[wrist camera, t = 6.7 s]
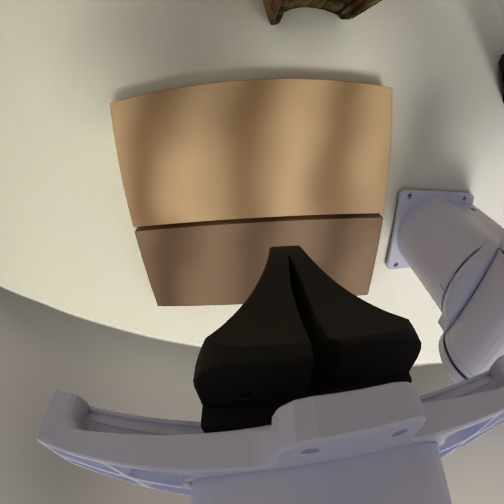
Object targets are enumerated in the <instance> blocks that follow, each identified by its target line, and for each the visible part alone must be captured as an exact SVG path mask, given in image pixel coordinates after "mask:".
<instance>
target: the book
mask: <svg viewBox="0 0 504 504" xmlns="http://www.w3.org/2000/svg"><path fill="white" fill-rule="evenodd" d="M380 1H382V0H263V3H264V6H265V9H266V12H267V15H268V18H269V21H270V24H271V25H275V24H278V23H280V20H281V18H282V16H283V14H284V12H285V11H288V10H290V9H294V8H299V7H312V8H318V9H323V10H326V11H329V12H332V13H335V14H337V15H338V16H339V18H340V19H351V18H354V17H356V16H357V15H359V14H361V13H362V12H364V11H365V10H367V9H369V8H370V7H372V6H373V5H375V4H377V3H378V2H380Z"/></svg>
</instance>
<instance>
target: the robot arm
mask: <svg viewBox="0 0 504 504" xmlns="http://www.w3.org/2000/svg"><path fill="white" fill-rule="evenodd" d="M408 194H410V196H409V197H408ZM463 197H464V199H463ZM473 200H474V196H473V194H471V193H463V192H449V191H432V190H409V189H403V190H401V191H400V192H399V197H398V203H397V210H396V216H395V222H394V227H393V233H392V238H391V243H390V248H389V252H388V257H387V261H386V266H387V268H388V269H397V268H407V267H411V269H412V270H413V271H414V273H415V274H416V275H417V277H418V278H419V280H420V281H421V282H422V284H423V285H424V287H425V288H426V290H427V291H428V292H429V294H430V295H431V297H432V298H433V300H434V301H435V303H436V304H437V306H438V307H439V309H440V310H441V312H442V315H441V317H440V319H439V320H438V323H439V324H440V326H441V328H442V329H443V331H444V333H443V334H442V336H441V337H440V340H439V353H440V357H441V360H442V363H443V366H444V368H445V370H446V371H447V373H448V374H449V376H450V377H451V378H452V379H453V380H454V381H455V382H456V384H454V385H451V386H449V387H446V388H443V389H440V390H437V391H434V392H431V393H428V394H425V395H422V396H419V395H418V392H417V389H416V387H415V386H414V385H412V384H411V381H412V379H411V377H410V374H409V371H410V369H411V367H412V366H413V364H414V362H415V361H416V359H417V357H418V355H419V353H420V350H421V342H420V340H419V338H418V335H417V333H416V331H415V329H414V327H413V326H412V324H411V323H410V321H409V319H406V318H403V317H400V316H397V315H394V314H392V313H389V312H386V311H384V310H382V309H380V308H377V307H375V306H373V305H371V304H369V303H367V302H365V301H364V300H362V299H360V298H359V297H357V296H355V295H354V294H352V293H350V292H349V291H347V290H346V289H345V288H343V287H342V286H340V285H339V284H338V283H337V282H335V281H334V280H333V279H332V278H331V277H329V276H328V275H327V274H326V273H325V272H324V271H323V270H322V269H321V268H320V267H319V266H318V265H317V264H316V263H315V262H314V261H313V260H312V259H311V258H310V257H309V256H308V254H307V253H306V252H305V251H304V250H303V249H302V248H301V247H300V246H299V245H297V246H277V247H271V248H270V249H269V256H268V259H267V263H266V265H265V268H264V270H263V273H262V275H261V277H260V279H259V281H258V283H257V285H256V286H255V288H254V290H253V291H252V293H251V294H250V296H249V297H248V299H247V300H246V301H245V302H244V304H243V305H242V306H241V307H240V309H239V310H238V311H237V312H236V313H235V314H234V315H233V316H232V317H231V318H230V319H229V320H228V321H227V322H226V323H225V324H224V325H222V326H221V327H220V328H219V329H217V330H216V331H215V332H214V333H212V334H211V335H210V336H208V337H207V338H206V339H205V341H204V343H203V345H202V347H201V350H200V353H199V355H198V359H197V362H196V367H195V373H194V380H193V382H194V387H195V389H196V391H197V394H198V396H199V398H200V400H201V403H202V405H203V409H202V418H201V422H193V421H180V420H169V419H160V418H152V417H144V416H138V415H131V414H126V413H120V412H115V411H110V410H105V409H100V408H95V407H91V406H89V404H88V403H87V402H86V401H85V400H84V399H83V398H82V397H81V396H79V395H77V394H74V393H71V392H67V391H63V390H59V389H55V390H54V392H53V394H52V397H51V399H50V402H49V404H48V407H47V409H46V412H45V414H44V417H43V420H42V422H41V425H40V428H39V431H38V434H37V437H36V439H37V441H39V442H40V443H42V444H43V445H44V446H46V447H47V448H49V449H50V450H52V451H53V452H55V453H56V454H58V455H60V456H61V457H63V458H64V459H66V460H67V461H69V462H71V463H73V464H75V465H78V466H80V467H83V468H86V469H89V470H91V471H94V472H97V473H100V474H103V475H106V476H109V477H112V478H116V479H119V480H122V481H125V482H129V483H132V484H136V485H140V486H144V487H148V488H152V489H156V490H161V491H166V492H171V493H176V494H182V495H188V496H191V501H190V504H452V503H451V499H450V494H449V490H448V486H447V481H446V477H445V473H444V470H443V466H442V463H441V459H440V458H441V457H443V456H445V455H447V454H449V453H451V452H453V451H455V450H457V449H459V448H461V447H463V446H464V445H466V444H468V443H470V442H471V441H473V440H475V439H477V438H478V437H480V436H482V435H483V434H485V433H486V432H488V431H490V430H491V429H493V428H495V427H496V426H498V425H499V424H501V423H502V422H504V228H502V227H501V226H500V225H499V224H497V223H496V222H495V221H494V220H492V219H491V218H490V217H488V216H487V215H486V214H485V213H483V212H482V211H481V210H479V209H478V208H476V207H475V206H474V205H473ZM396 262H397V263H396ZM395 263H396V264H395ZM394 264H395V265H394Z"/></svg>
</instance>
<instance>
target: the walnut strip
mask: <svg viewBox="0 0 504 504" xmlns="http://www.w3.org/2000/svg"><path fill="white" fill-rule="evenodd" d="M382 221H383V217H382V216H381V215H380V214H379V213H365V214H328V215H302V216H280V217H261V218H244V219H228V220H213V221H200V222H187V223H174V224H163V225H152V226H141V227H138V228H137V229H136V231H135V234H136V238H137V242H138V245H139V249H140V252H141V255H142V259H143V262H144V265H145V268H146V272H147V275H148V278H149V281H150V284H151V287H152V290H153V293H154V296H155V299H156V302H157V305H158V306H199V305H230V304H244V302H245V301H246V300H247V299H248V297H249V296H250V294H251V293H252V291H253V290H254V288H255V286H256V285H257V283H258V281H259V279H260V277H261V275H262V273H263V270H264V268H265V265H266V263H267V259H268V256H269V249H270V248H271V247H277V246H297V245H299V246H300V247H301V248H302V249H303V250H304V251H305V252H306V253H307V254H308V256H309V257H310V258H311V259H312V260H313V261H314V262H315V263H316V264H317V265H318V266H319V267H320V268H321V269H322V270H323V271H324V272H325V273H326V274H327V275H328V276H329V277H331V278H332V279H333V280H334V281H335V282H337V283H338V284H339V285H340V286H342V287H343V288H345V289H346V290H347V291H349V292H350V293H352V294H354V295H355V296H357V295H367V294H368V291H369V287H370V283H371V278H372V274H373V269H374V265H375V260H376V255H377V249H378V244H379V239H380V233H381V227H382Z"/></svg>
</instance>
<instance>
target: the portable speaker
mask: <svg viewBox="0 0 504 504" xmlns="http://www.w3.org/2000/svg"><path fill="white" fill-rule="evenodd" d="M499 64H500V65H501V66H502V67H503V74H504V54H503V55H502V56H501V58H500V61H499ZM503 103H504V96H503Z"/></svg>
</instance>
